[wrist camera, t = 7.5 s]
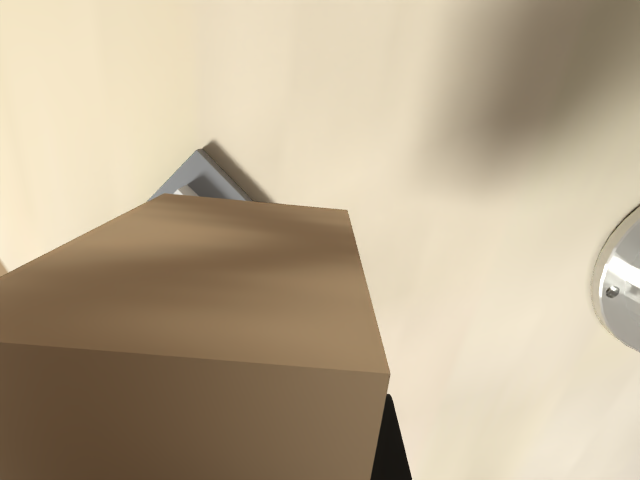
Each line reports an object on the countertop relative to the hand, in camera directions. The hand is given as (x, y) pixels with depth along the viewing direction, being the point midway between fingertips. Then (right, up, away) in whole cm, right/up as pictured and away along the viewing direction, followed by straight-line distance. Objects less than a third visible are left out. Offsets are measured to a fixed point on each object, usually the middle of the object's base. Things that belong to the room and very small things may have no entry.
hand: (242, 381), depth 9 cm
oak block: (0, 0, +1) cm, 1 cm away
